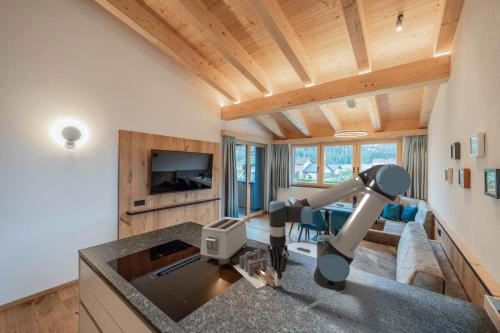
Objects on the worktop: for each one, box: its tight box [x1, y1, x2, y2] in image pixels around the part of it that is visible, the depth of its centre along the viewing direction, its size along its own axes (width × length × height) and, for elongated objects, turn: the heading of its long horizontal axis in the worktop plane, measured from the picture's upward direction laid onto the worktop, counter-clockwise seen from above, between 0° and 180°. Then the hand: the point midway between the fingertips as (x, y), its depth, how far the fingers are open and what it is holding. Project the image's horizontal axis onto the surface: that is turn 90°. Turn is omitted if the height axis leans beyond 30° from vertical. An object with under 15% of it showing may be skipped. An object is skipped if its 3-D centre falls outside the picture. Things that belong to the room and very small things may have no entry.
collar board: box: [232, 248, 284, 289], centre depth 113 cm, size 26×16×11 cm, turn 31°
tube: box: [253, 264, 278, 288], centre depth 106 cm, size 18×4×4 cm, turn 31°
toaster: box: [199, 216, 248, 265], centre depth 140 cm, size 19×34×21 cm, turn 157°
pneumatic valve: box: [267, 242, 289, 253], centre depth 127 cm, size 6×12×12 cm, turn 78°
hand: (278, 284), depth 97 cm, fingers closed
